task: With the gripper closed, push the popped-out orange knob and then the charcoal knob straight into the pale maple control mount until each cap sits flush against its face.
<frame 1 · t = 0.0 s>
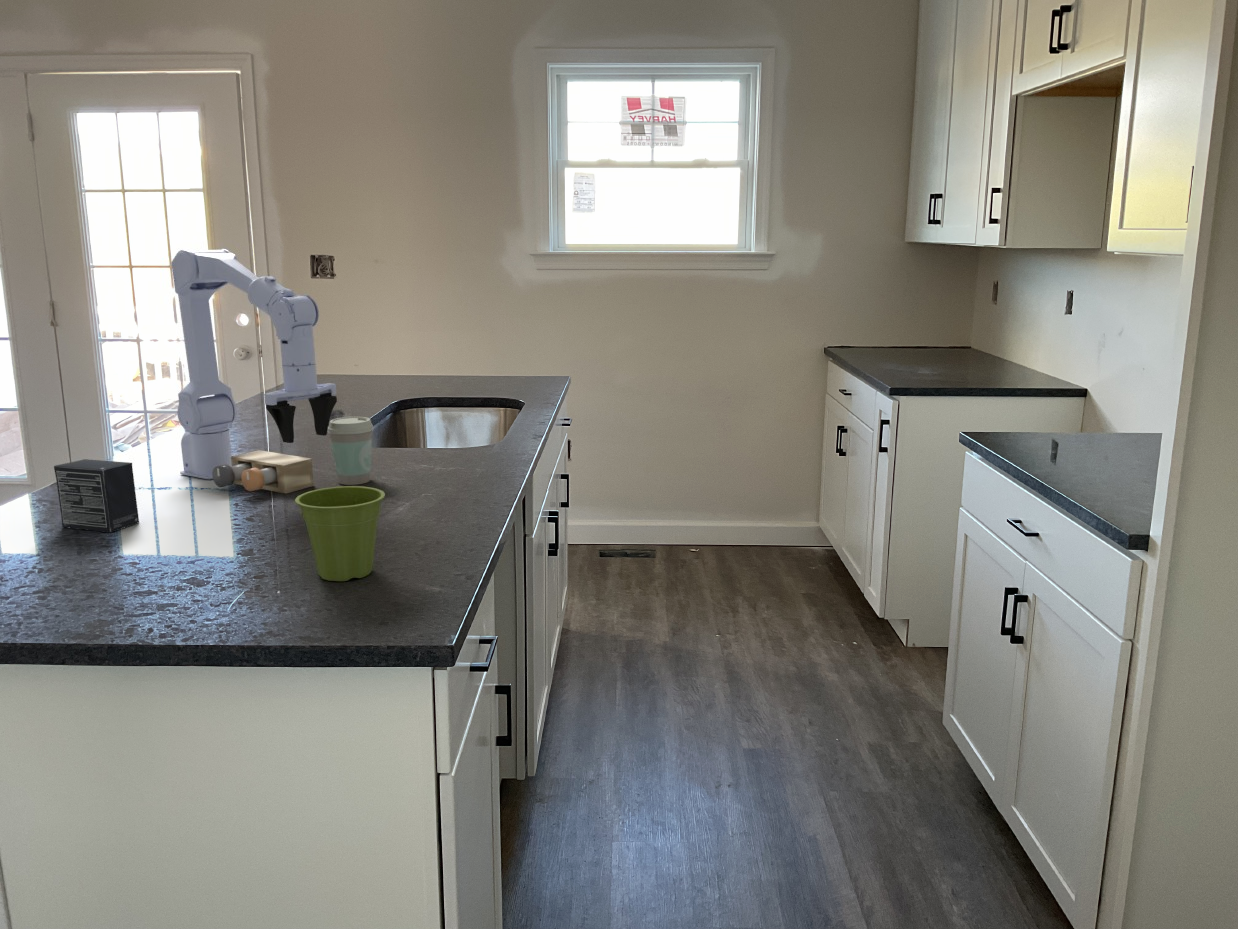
hand: (305, 438, 177), 10 cm above the table, tool pointing down, fingers open, 7 cm apart
orange knob: (263, 476, 178), point 3 cm above the table, slide at 2.5 cm
mount: (273, 484, 185), on the table
coffee cup: (354, 482, 187), on the table
small box: (102, 526, 159), on the table
plant pot: (346, 575, 135), on the table
charcoal knob: (234, 473, 181), point 3 cm above the table, slide at 3.5 cm
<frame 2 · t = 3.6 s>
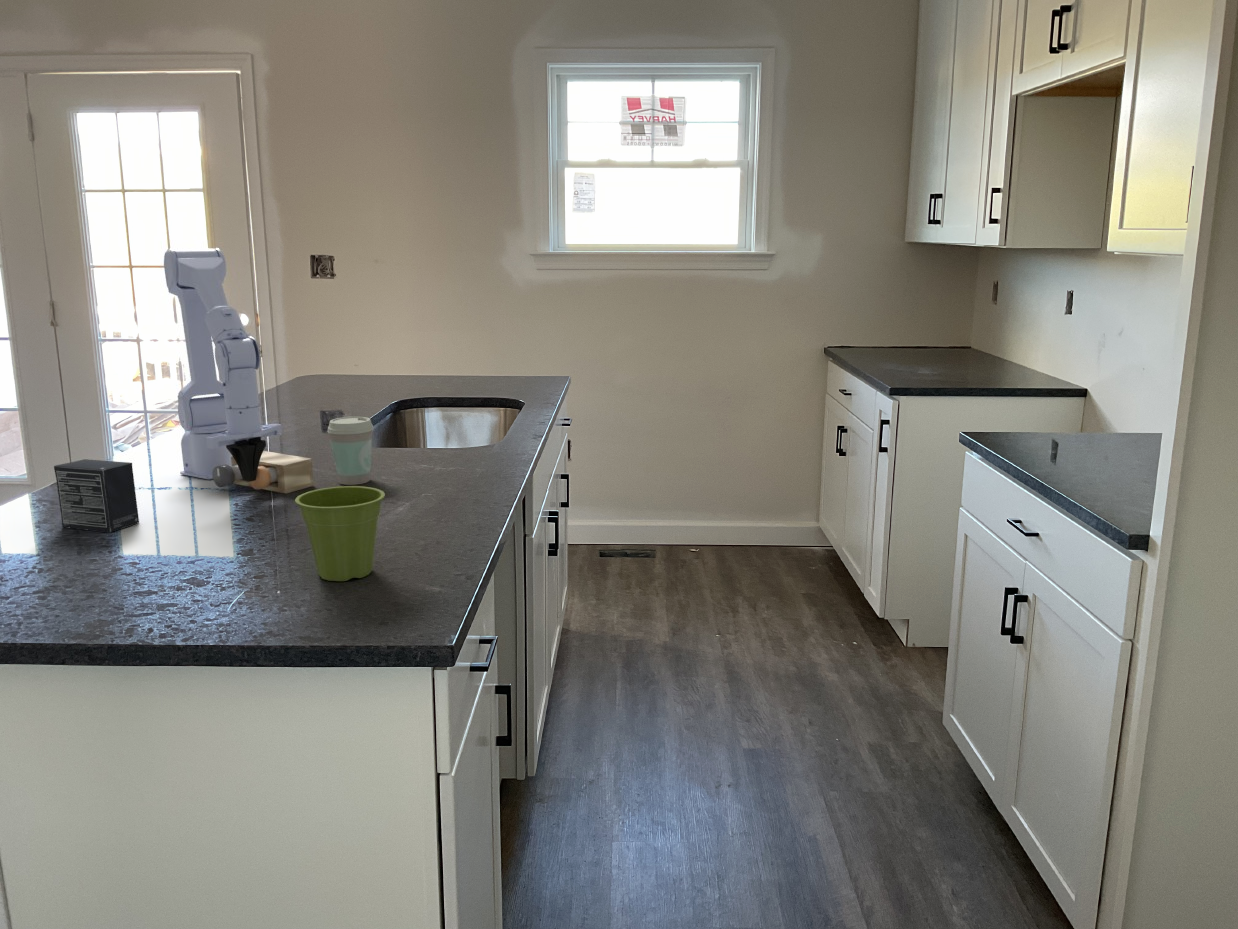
hand: (249, 480, 176), 3 cm above the table, tool pointing down, fingers closed
orange knob: (270, 475, 180), point 3 cm above the table, slide at 1.0 cm, touching gripper
everything else where it was.
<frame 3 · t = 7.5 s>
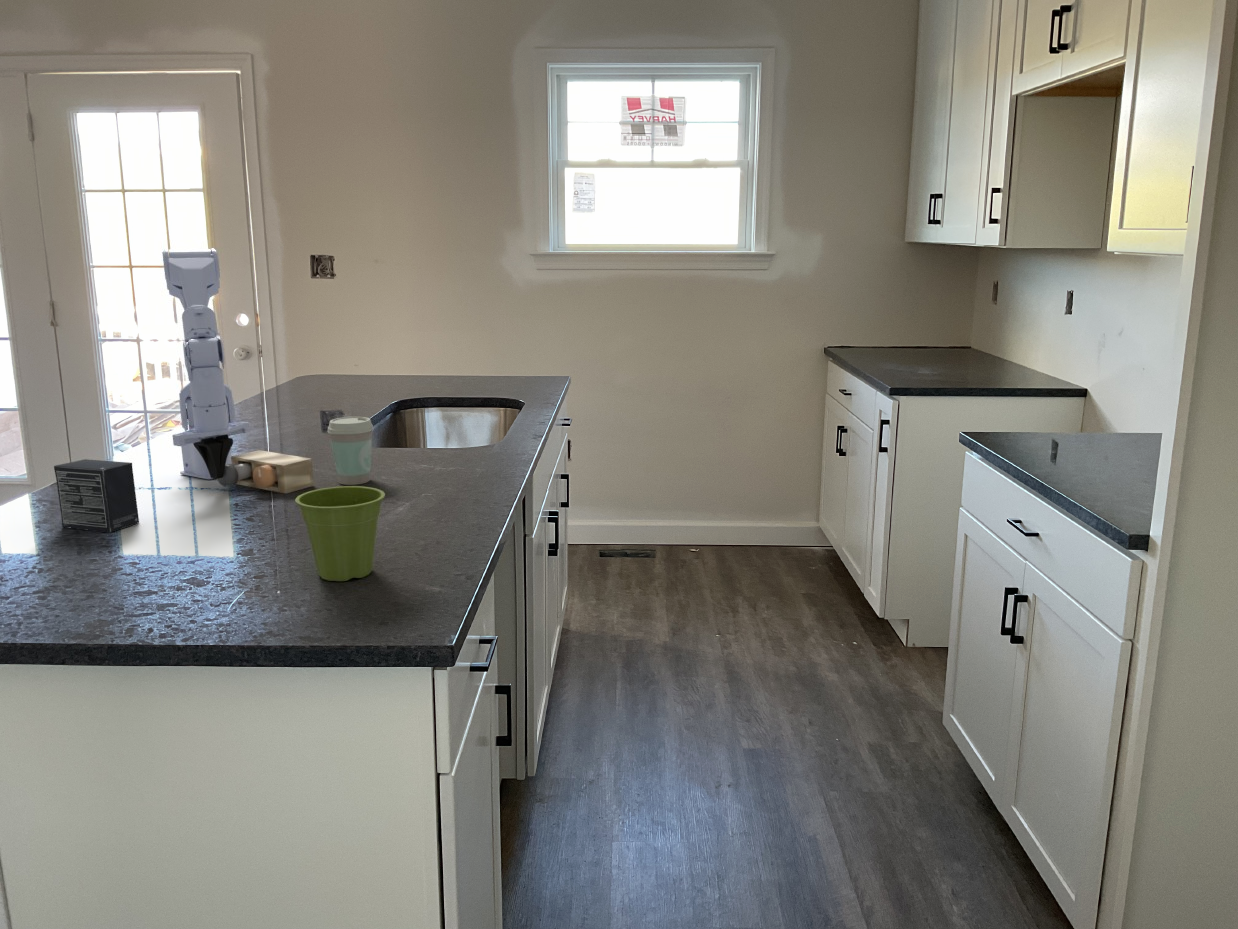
hand: (217, 477, 178), 3 cm above the table, tool pointing down, fingers closed
orange knob: (275, 473, 180), point 3 cm above the table, slide at 0.0 cm
charcoal knob: (238, 472, 182), point 3 cm above the table, slide at 2.7 cm, touching gripper
everything else where it was.
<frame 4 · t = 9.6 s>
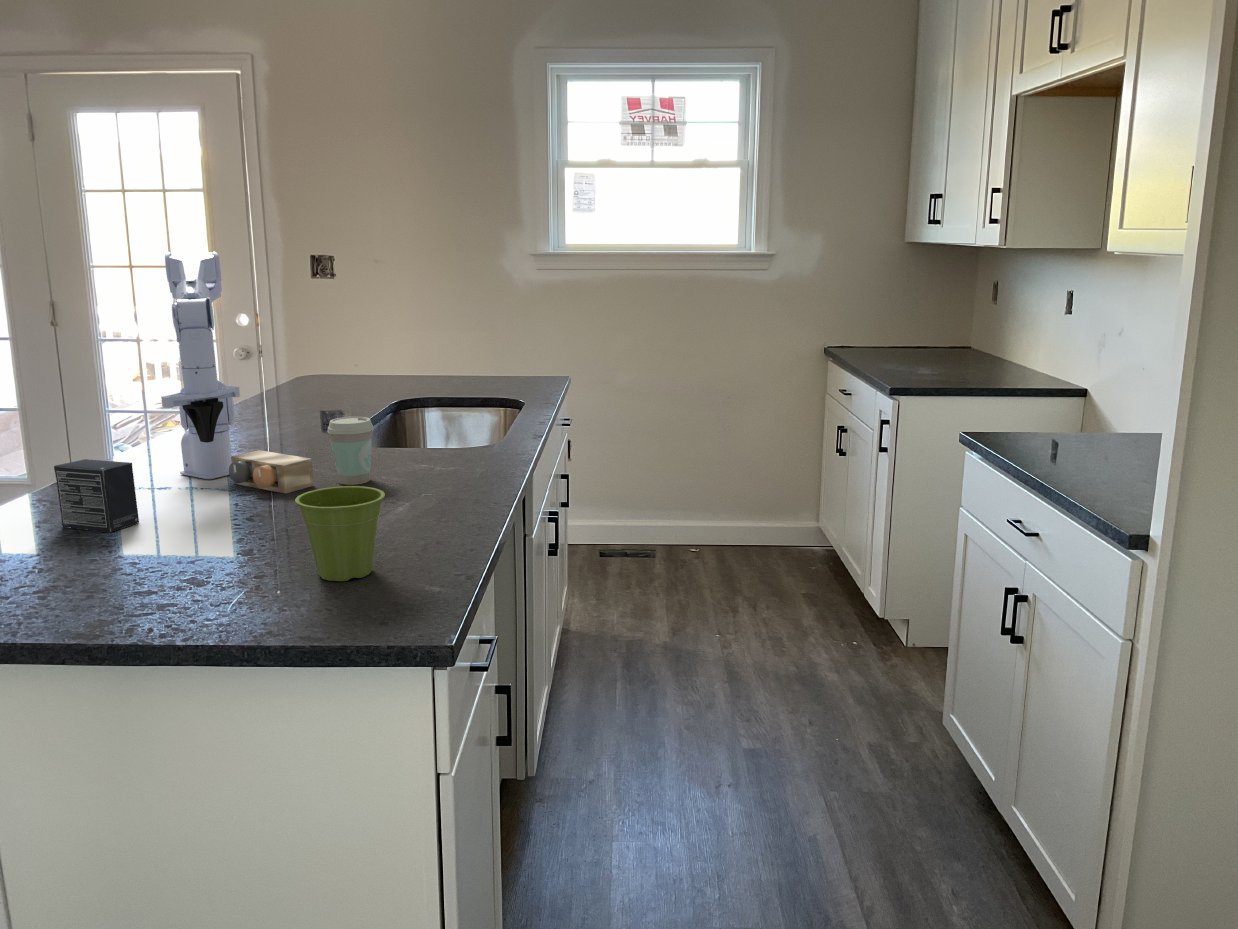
hand: (206, 441, 176), 10 cm above the table, tool pointing down, fingers closed
charcoal knob: (250, 469, 184), point 3 cm above the table, slide at 0.0 cm
everything else where it was.
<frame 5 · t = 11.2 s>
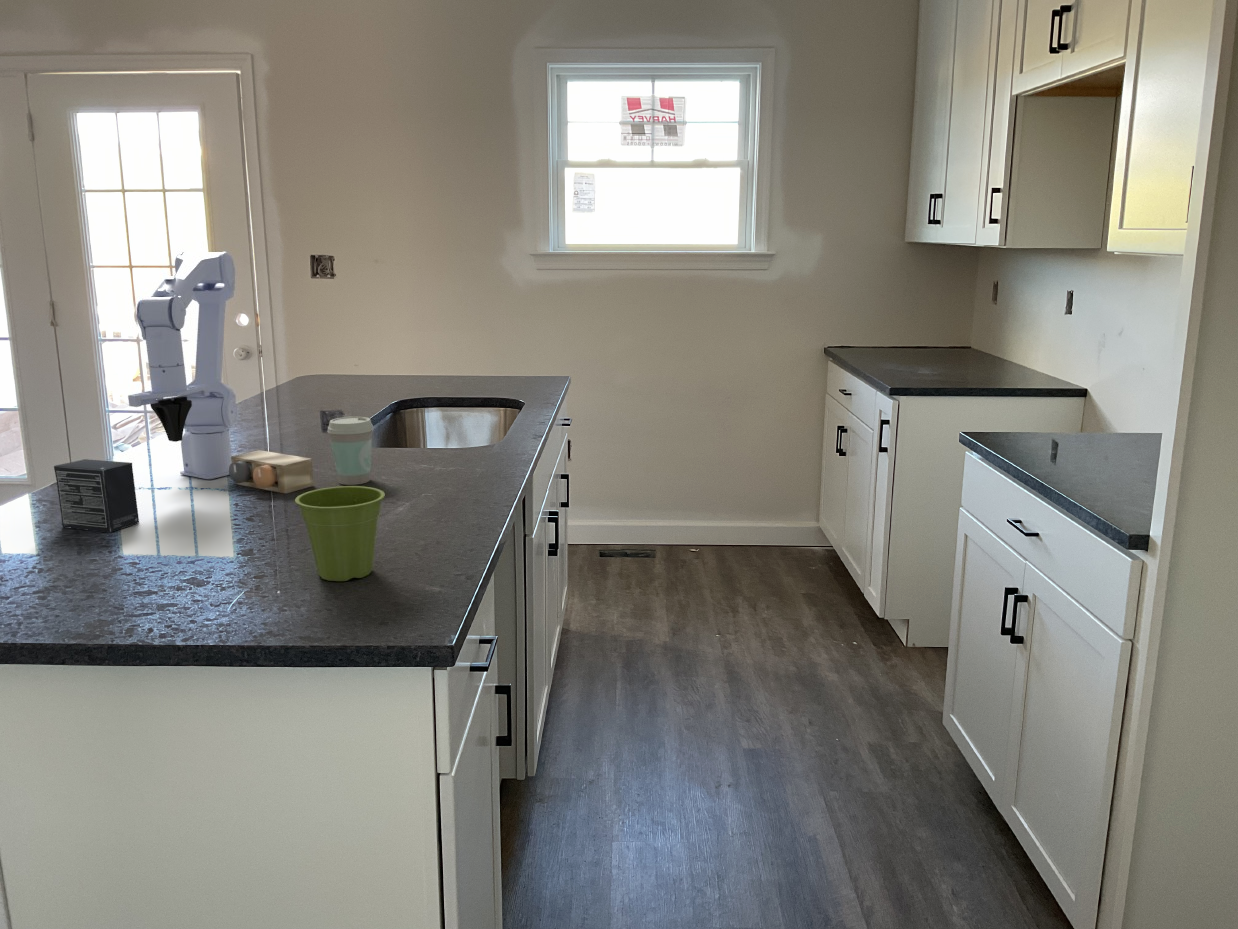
hand: (175, 440, 174), 10 cm above the table, tool pointing down, fingers closed
nothing on the table moved.
at the end: orange knob slide at 0.0 cm; charcoal knob slide at 0.0 cm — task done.
